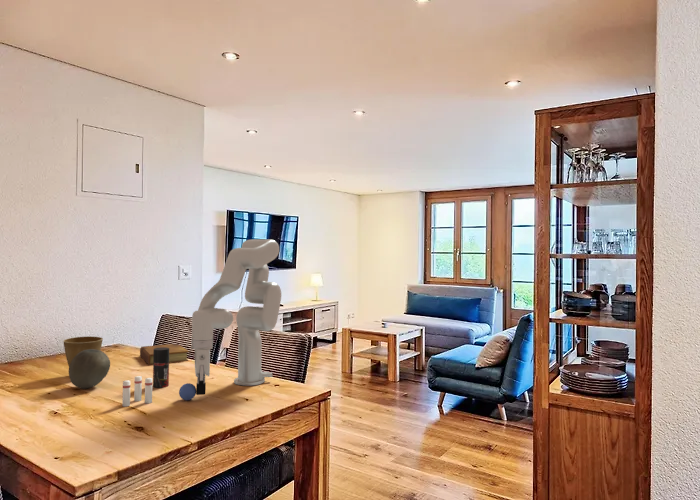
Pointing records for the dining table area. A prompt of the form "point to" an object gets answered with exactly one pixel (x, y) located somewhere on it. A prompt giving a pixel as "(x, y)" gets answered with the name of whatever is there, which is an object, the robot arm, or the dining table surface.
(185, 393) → the ball
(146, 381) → the front pin
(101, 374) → the grey rock
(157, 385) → the deodorant
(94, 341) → the plant pot
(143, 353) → the diary
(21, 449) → the dining table surface
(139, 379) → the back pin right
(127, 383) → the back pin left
